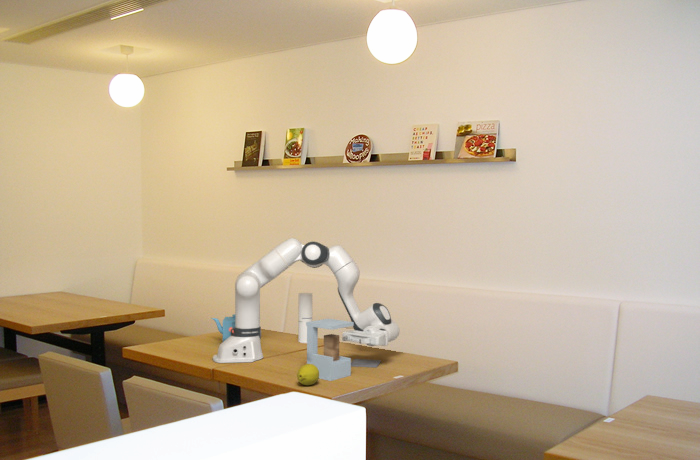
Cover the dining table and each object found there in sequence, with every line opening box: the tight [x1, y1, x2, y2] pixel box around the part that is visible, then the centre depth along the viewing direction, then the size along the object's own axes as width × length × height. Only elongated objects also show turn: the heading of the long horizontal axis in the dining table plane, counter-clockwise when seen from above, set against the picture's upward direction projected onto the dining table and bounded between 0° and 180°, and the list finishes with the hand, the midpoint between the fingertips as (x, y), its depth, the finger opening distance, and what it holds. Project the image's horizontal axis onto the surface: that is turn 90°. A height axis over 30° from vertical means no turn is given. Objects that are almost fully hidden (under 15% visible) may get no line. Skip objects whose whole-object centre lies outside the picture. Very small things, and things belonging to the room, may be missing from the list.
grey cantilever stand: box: [306, 318, 354, 382], centre depth 253 cm, size 13×14×22 cm
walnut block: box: [323, 333, 340, 361], centre depth 253 cm, size 4×4×10 cm
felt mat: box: [351, 358, 382, 368], centre depth 274 cm, size 12×12×1 cm
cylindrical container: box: [297, 292, 313, 344], centre depth 324 cm, size 7×7×25 cm
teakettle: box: [210, 314, 235, 342], centre depth 319 cm, size 19×19×15 cm
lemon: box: [296, 363, 320, 386], centre depth 237 cm, size 11×8×8 cm
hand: (351, 340), depth 263 cm, fingers open, 8 cm apart
